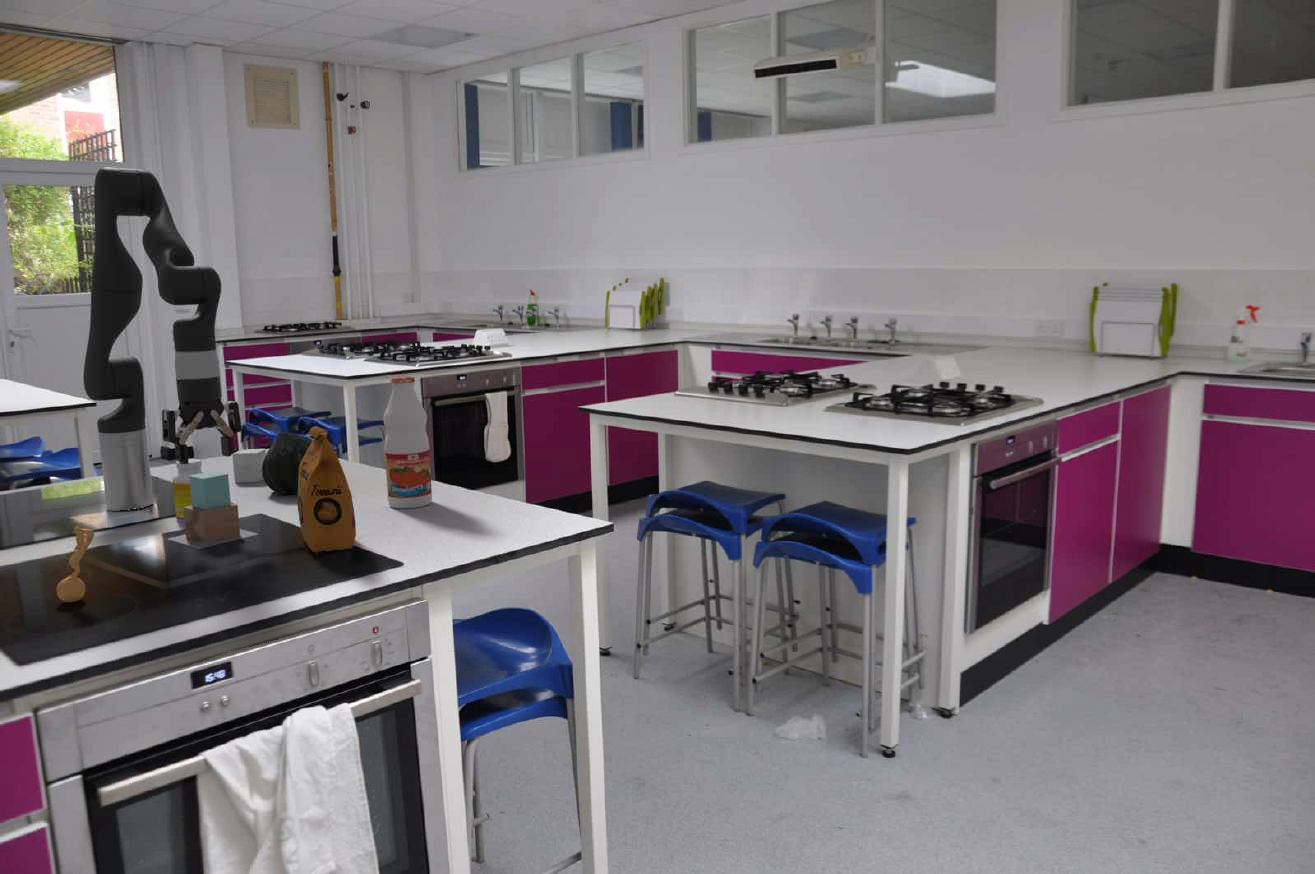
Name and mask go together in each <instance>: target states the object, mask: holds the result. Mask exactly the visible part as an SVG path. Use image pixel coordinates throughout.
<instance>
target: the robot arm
mask: <svg viewBox="0 0 1315 874" xmlns="http://www.w3.org/2000/svg"><path fill="white" fill-rule="evenodd" d="M93 185H94V187H93V205H94V206H93V208H94V250H93V251H94V253H93V261H92V262H93V264H92V274H91V284H90V285H91V288H90V319H89V330H88V331H89V332H88V340H87V345H86V353H85V358H84V365H83V374H82V375H83V376H82V377H83V387H84V388H83V389H84V391H85V393H86V395H87V397H88V399H90V400H92V401H97V402H99V401H101V402H103V401H111V400H121V402H120V405H118V406H117V408H115V409H114V410H112V411H111V412H110V413H109V412H108V413H107V414H104V415H103V416H101V417H99V418H98V419H97V422H96V425H97V432H98V433H97V434H98V442H99V449H100V450H99V451H100V458H101V466H102V467H101V468H102V475H103V476H102V477H103V485H104V494H105V501H106V504H105V505H106V510H108V511H111V512H121V511H120V510H128V509H134V508H142V507H146V506H148V505H150V504H152V503H155V501H154V494H153V483H152V473H151V465H150V455H149V446H148V439H147V438H148V437H147V429H146V428H147V426H146V404H145V403H146V402H145V401H146V400H145V381H144V372H143V368H142V365H141V363H140V361H139V360H138V358H136V356H133V355H117V356H110V355H111V352H112V349H113V346H114V345H115V343H116V341H117V339H118V337H120V336H121V334H122V333H123V332H124V331H125V329H126V328H127V327H128V325H130V324H131V322H132V321H133V319H134V318H135V317H136V315H137V314H138V312H139V310H140V308H141V304H142V297H143V296H142V295H143V283H144V281H143V275H142V272H141V270H140V268H139V267H138V266H139V265H138V264H137V262H135V259H134V258H133V256H132V255H131V254H130V252H129V251H128V249H127V248H126V246H125V245H124V243H123V241H122V239H121V237H120V234H119V231H118V217H147V218H149V221H148V222H147V224H146V226H145V227H144V230H143V233H142V237H141V239H142V240H141V241H142V242H141V243H142V246H143V249H144V252H145V254H146V256H147V257H148V259H149V260H150V262H151V264H152V265H153V266H154V268H155V273H156V277H157V289H158V293H159V296H160V297H161V299H162V300H163V301H164V302H166V303H167V304H169V305H171V306H194V305H197V308H196V310H195V312H194V313H193V314H192V315H190V316H187V317H183V318H180V319H178V320H177V319H176V320H175V321H174V323H173V325H172V333H173V342H174V343H173V345H174V370H175V371H174V372H175V373H174V374H175V383H176V392H177V400H178V408H177V409H168V408H167V409H166V408H165V409H162V411H161V422H162V423H161V426H162V427H161V428H162V440H163V441H164V442H167V443H171V444H173V445H174V450H175V460H176V462H177V461H179V463H180V464H188V463H189V461H188V459H189V452H188V444H187V441H188V438H189V437H190V436H191V435H192V434H193V433H194V431H195V430H197V431H199V430H203V429H205V428H208V429H213V428H214V429H215V430H216V431H218V433H219V434H220V435H221V436H220V447H221V455H222V456H223V457H226V458H229V457H232V454H233V453H234V441H233V436H234V435H235V434H237V433H241V432H242V430H243V429H242V427H243V426H242V421H241V413H240V407H239V402H237V401H231V400H227V401H226V402H224V403H223V402H222V396H223V395H222V383H221V368H220V362H219V357H218V356H219V355H218V351H217V344H216V332H215V331H216V321H217V320H216V319H217V313H218V306H219V303H220V298H221V293H222V280H221V277H220V274H219V273H218V272H217V271H216V270H215V269H214V268H213V267H211V266H208V265H195V257H194V254H193V252H192V251H191V249H190V247H189V245H188V244H187V243H186V241H185V240H184V238H183V236H182V235H181V233H180V232H179V230H178V229H177V225H176V224H175V221H174V218H173V216H172V213H171V210H170V207H169V205H168V201H167V199H166V197H165V195H164V194H165V193H164V192H163V189H162V187H161V185H160V182H159V180H158V179H157V178H156V176H155V175H154V174H153V173H152V172H151V171H149V170H146V169H141V168H125V167H109V166H108V167H102V168H99V169H98V171H97V172H96V175H95V179H94V184H93ZM223 412H225V414H226V416H227V422H228V424H227V422H226V421H225V420H224V419H223V418H222V417H221V416H222V415H223ZM178 417H180V419H181V422H180V424H179V425H178V427H177V429H176V422H177V421H178ZM176 430H177V431H176ZM146 508H147V507H146ZM142 509H143V508H142Z"/></svg>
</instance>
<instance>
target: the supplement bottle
mask: <svg viewBox="0 0 1315 874" xmlns="http://www.w3.org/2000/svg"><path fill="white" fill-rule="evenodd" d="M188 461H189V463H188V464H180V463H179V461H177V460H176V462H175V463H176V469H177V471H178V472H177V473H176V474H174V475H173V477H172V486H173V487H172V489H173V499H174V508H175V509H174V512H175V519H176V521H178V522H184V512H183V507H187V506H191V505H192V501H191V491H190V481H189V476H191V475H196V474H202V473H206V472H205V471H204V470H202V466H203V465H202V459H199V458H188Z"/></svg>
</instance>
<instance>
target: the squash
mask: <svg viewBox="0 0 1315 874" xmlns="http://www.w3.org/2000/svg"><path fill="white" fill-rule="evenodd" d="M312 441H313V439H311V438H309V437H307V436H303V435H300V434H297V433H294V432H289V431H279V433H278V434H277V435H276V436H275V438H274V440H273V442H272V443H271V445H270V447H269V449H268V451H267V452H266V456H265V458H264V461H263V464H262V476H263V479H264V480H263V481H264V483H265V485H266V486H267V487H268V488H269V489H271V491H273V492H276V493H280V494H283V495H287V496H288V495H293V494H297V495H298V477H299V465H300V463H301V461H302V459H303V457H304V455H305V453H306V451H307V450H308V448H309V446H310V445H311V443H312Z"/></svg>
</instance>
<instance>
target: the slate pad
mask: <svg viewBox="0 0 1315 874" xmlns="http://www.w3.org/2000/svg"><path fill="white" fill-rule="evenodd" d="M258 535H260V533H258V532H253V531H250V530H246V529H241V528H240V535H238V536H234V537H230V538H226V539H222V540H218V541H213V542H209V543H202V542H199V541H195V540H192V539H188V538H186V533H184V534H181V535H177V536H173V537H169V538H167V540H169V541H172V542H174V543H175V542H176V543H179V544H182V545H185V546H189V547H193V548H196V549H199V550H201V549H204V548H210V547H213V546H216V545H221V544H225V543H229V542H234V541H238V540H241V539H246V538H251V537H254V536H258Z"/></svg>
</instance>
